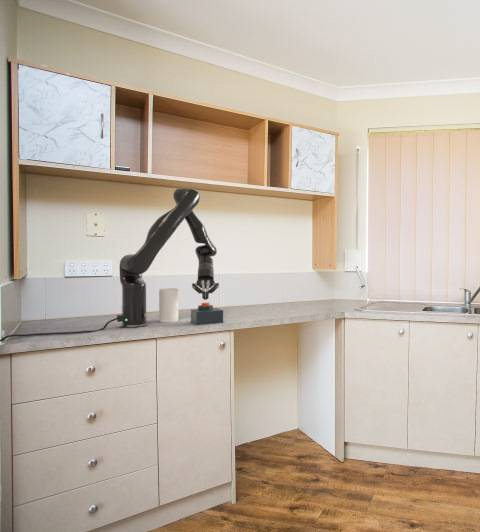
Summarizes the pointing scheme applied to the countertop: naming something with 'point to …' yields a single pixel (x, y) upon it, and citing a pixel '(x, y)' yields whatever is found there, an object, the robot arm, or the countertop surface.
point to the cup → (168, 305)
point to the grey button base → (206, 315)
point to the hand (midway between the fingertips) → (205, 298)
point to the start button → (205, 304)
